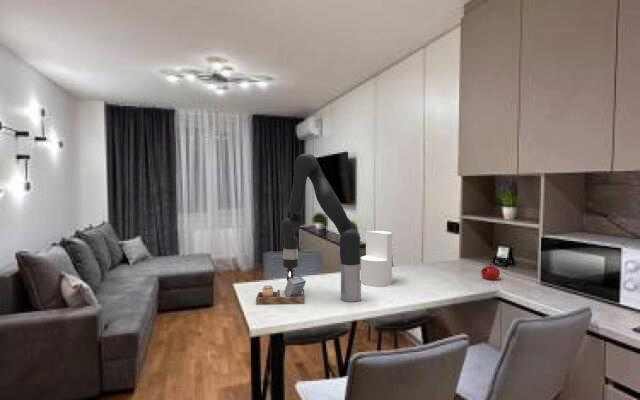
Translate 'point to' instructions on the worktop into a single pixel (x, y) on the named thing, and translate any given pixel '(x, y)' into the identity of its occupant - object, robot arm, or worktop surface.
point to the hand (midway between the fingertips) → (290, 291)
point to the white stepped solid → (377, 259)
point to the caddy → (278, 299)
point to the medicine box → (294, 286)
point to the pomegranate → (490, 272)
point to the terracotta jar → (267, 291)
